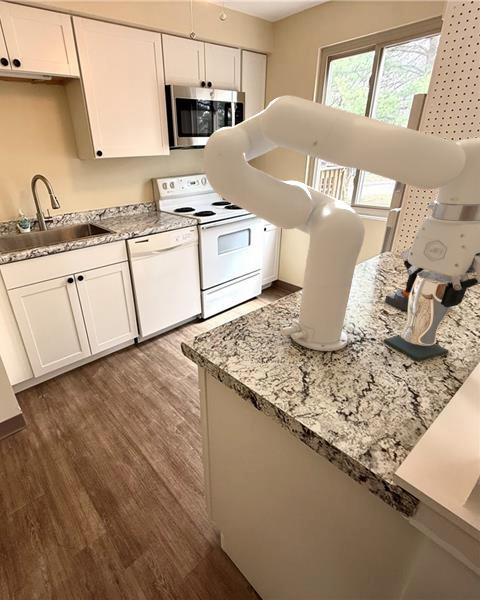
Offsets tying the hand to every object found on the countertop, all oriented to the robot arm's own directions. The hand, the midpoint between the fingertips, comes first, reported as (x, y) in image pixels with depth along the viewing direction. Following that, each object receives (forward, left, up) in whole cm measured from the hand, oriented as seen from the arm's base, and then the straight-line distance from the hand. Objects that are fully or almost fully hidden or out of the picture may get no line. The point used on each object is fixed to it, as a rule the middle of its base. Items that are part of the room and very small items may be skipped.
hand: (430, 297), depth 65 cm
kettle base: (+19, +15, -13) cm, 27 cm away
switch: (+16, +15, -9) cm, 24 cm away
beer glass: (0, 0, -10) cm, 10 cm away
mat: (0, 0, -13) cm, 13 cm away
